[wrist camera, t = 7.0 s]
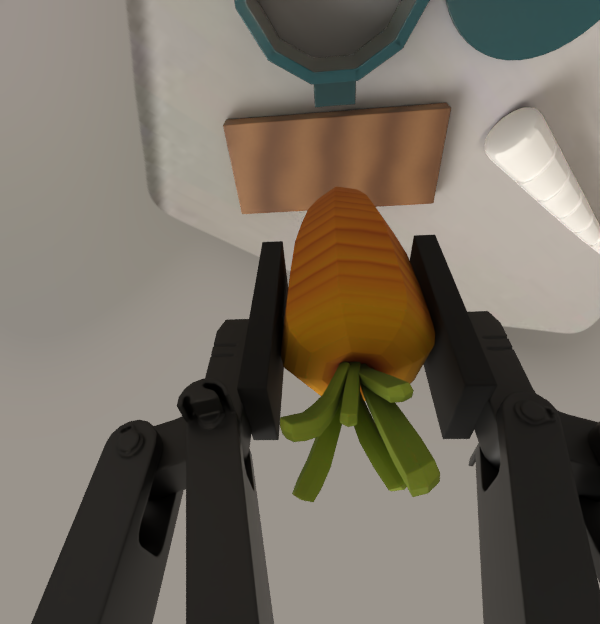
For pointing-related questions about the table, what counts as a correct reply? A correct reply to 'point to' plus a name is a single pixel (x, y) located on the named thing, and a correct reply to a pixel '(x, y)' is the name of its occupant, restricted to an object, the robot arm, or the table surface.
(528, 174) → the unicorn horn
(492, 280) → the table surface
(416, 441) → the carrot
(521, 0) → the lid
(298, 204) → the board
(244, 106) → the table surface
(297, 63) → the pot
